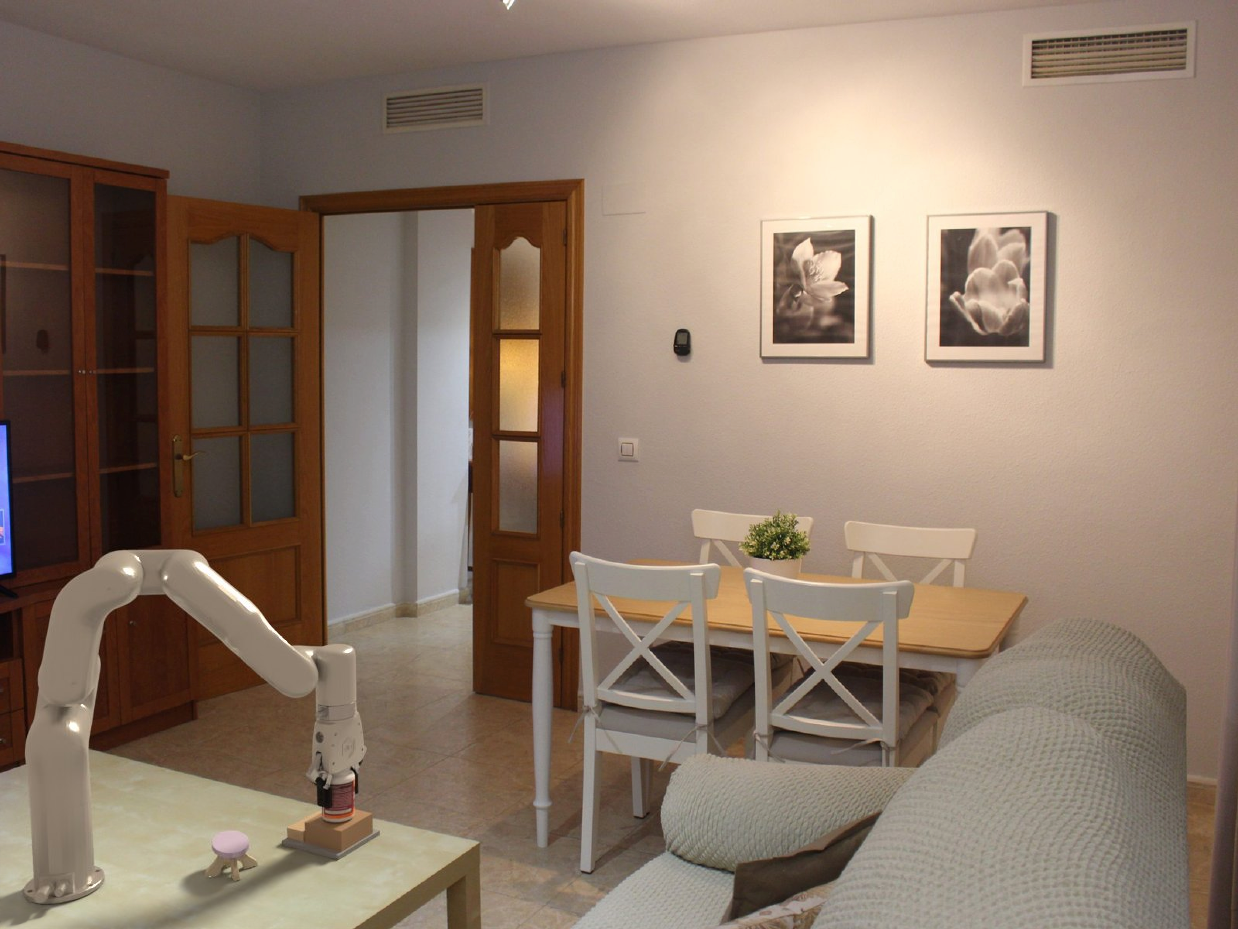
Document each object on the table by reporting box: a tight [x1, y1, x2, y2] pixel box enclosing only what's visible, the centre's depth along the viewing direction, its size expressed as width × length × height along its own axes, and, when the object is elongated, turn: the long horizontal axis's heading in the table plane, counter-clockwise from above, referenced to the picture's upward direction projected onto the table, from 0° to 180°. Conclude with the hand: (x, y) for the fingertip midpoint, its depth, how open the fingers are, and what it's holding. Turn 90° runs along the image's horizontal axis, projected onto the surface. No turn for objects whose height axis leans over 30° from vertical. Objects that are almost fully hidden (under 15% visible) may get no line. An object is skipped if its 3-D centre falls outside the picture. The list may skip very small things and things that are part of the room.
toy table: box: [204, 829, 259, 882], centre depth 193 cm, size 10×9×6 cm
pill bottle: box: [321, 767, 356, 822], centre depth 204 cm, size 6×6×11 cm
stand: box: [281, 809, 381, 860], centre depth 206 cm, size 14×12×5 cm
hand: (338, 799), depth 204 cm, fingers open, 6 cm apart
